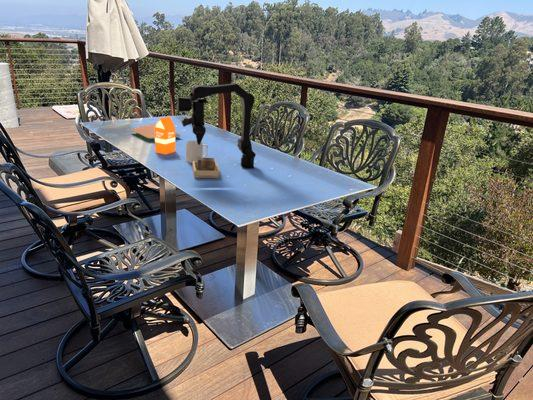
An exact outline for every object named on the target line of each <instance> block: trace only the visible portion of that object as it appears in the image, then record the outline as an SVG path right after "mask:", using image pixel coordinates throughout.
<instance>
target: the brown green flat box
mask: <svg viewBox="0 0 533 400" xmlns="http://www.w3.org/2000/svg"><path fill="white" fill-rule="evenodd" d="M156 124H157V123H150V124H147V125H143V126H139V127H135V128H131V129H130V130H131V131H133V132H135V135H136V137H138V138H140V139H142V140H145V141H147V142H148V140H152V143H155V126H156ZM181 136H182V134H181V133H178V132H176V131H175V140H176V139H181V138H180V137H181Z"/></svg>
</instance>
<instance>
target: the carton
mask: <svg viewBox="0 0 533 400" xmlns="http://www.w3.org/2000/svg"><path fill="white" fill-rule="evenodd" d="M220 172H221V171H220V168H219V165H218V162H217V161H215V162H214V171H197V161H193V163H192V173H193V177H194V178H195V179H219V178H220V177H221V176H220V174H221V173H220Z"/></svg>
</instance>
